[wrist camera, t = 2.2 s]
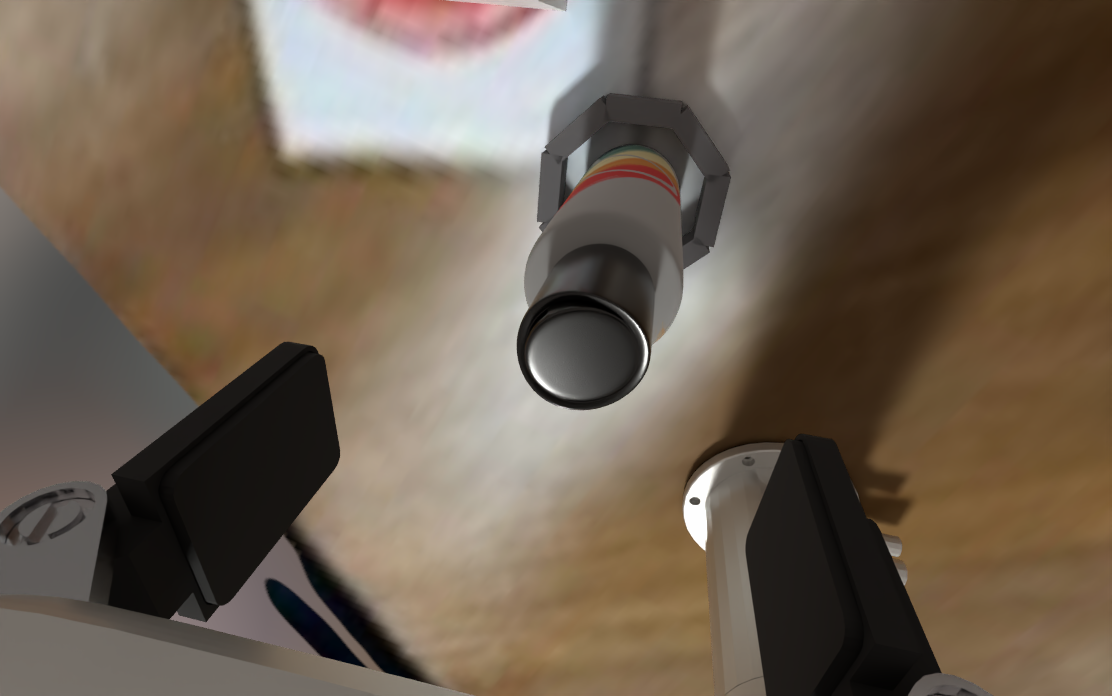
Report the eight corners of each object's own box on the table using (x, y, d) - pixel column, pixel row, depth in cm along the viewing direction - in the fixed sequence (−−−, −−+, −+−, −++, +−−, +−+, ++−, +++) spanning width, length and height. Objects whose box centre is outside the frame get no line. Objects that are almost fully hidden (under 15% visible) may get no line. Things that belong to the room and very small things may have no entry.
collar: (743, 108, 28) (747, 111, 27) (699, 287, 33) (700, 298, 32) (552, 86, 29) (546, 88, 28) (539, 262, 35) (533, 272, 33)
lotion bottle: (619, 121, 30) (544, 216, 12) (700, 180, 30) (734, 346, 13) (565, 205, 32) (445, 375, 15) (641, 257, 33) (605, 476, 16)
